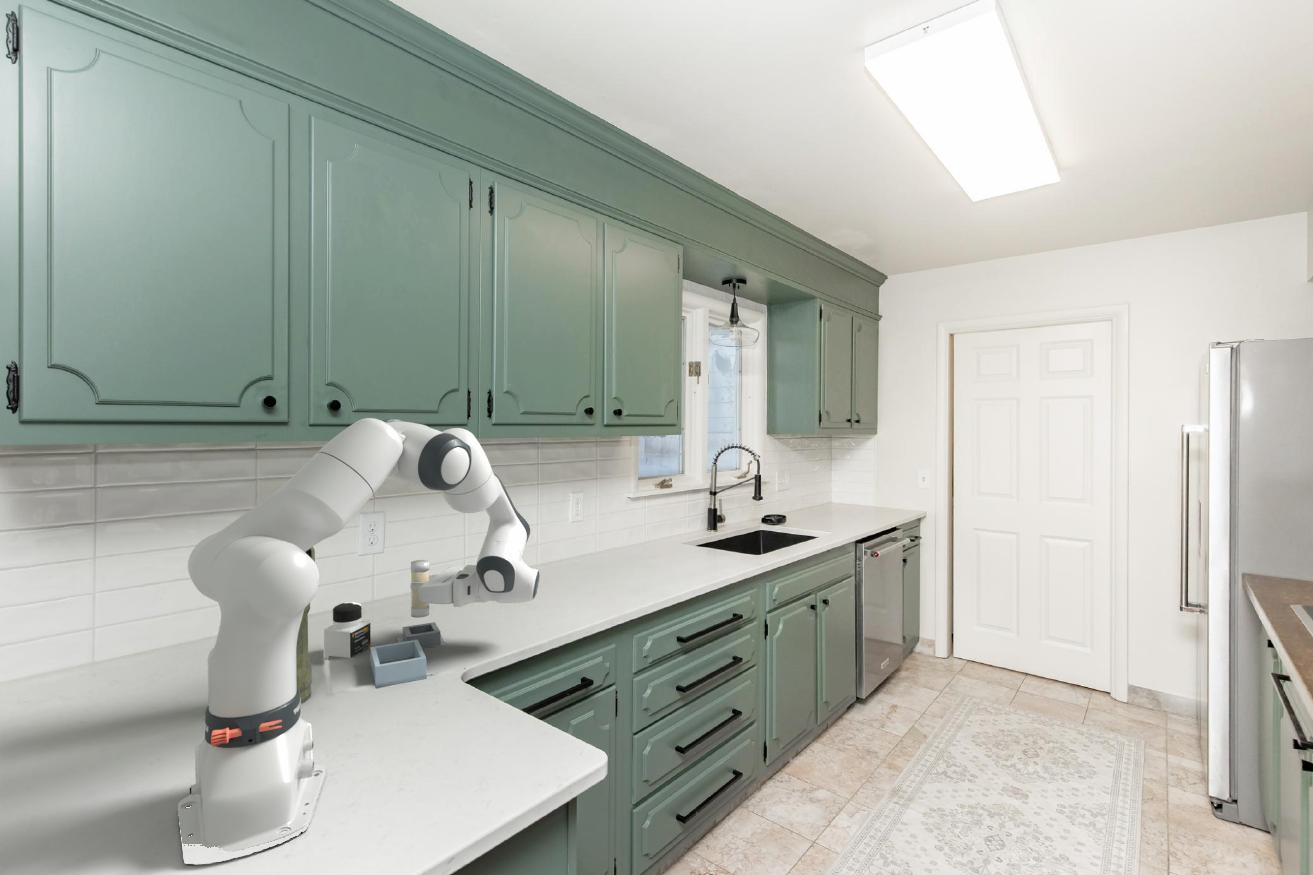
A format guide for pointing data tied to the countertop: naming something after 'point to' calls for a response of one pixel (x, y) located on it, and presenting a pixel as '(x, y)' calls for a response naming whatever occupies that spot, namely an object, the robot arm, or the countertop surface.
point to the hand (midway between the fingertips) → (416, 582)
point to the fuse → (418, 574)
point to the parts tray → (397, 663)
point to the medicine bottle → (347, 632)
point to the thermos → (304, 651)
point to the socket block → (423, 635)
